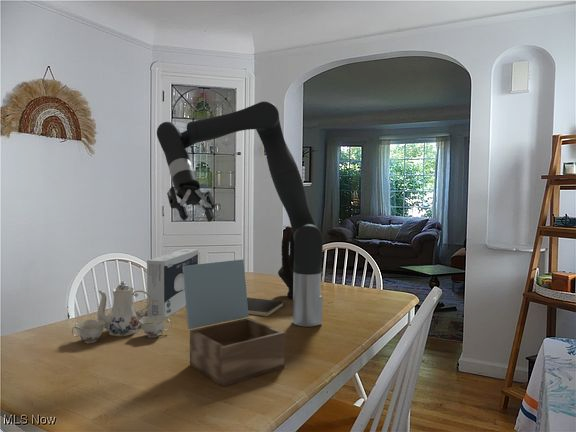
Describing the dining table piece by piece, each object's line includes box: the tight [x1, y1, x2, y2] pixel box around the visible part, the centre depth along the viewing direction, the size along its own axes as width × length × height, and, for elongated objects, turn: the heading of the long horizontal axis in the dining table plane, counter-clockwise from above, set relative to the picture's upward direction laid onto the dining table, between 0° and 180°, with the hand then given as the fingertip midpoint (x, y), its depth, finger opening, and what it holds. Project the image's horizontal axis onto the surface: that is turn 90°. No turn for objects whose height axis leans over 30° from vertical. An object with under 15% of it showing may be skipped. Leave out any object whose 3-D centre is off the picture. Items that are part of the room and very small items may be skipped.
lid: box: [183, 259, 250, 330], centre depth 122 cm, size 16×18×1 cm
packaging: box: [146, 248, 199, 318], centre depth 169 cm, size 30×6×20 cm, turn 168°
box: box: [189, 317, 286, 387], centre depth 115 cm, size 16×18×9 cm
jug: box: [277, 225, 323, 299], centre depth 188 cm, size 21×18×30 cm
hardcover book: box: [247, 297, 285, 317], centre depth 171 cm, size 16×23×2 cm
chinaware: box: [71, 279, 173, 344], centre depth 137 cm, size 28×17×17 cm, turn 114°
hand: (198, 219), depth 133 cm, fingers open, 8 cm apart
